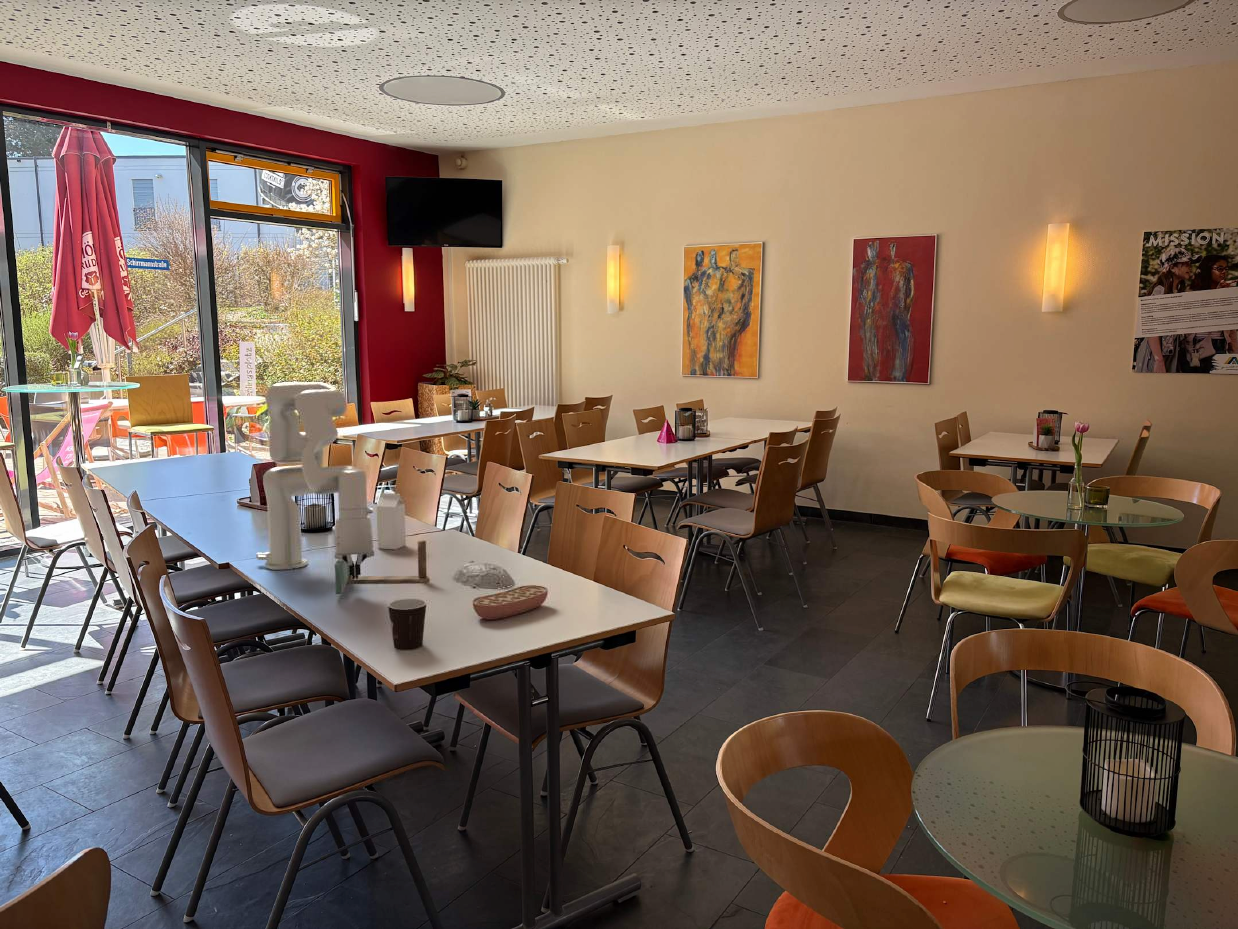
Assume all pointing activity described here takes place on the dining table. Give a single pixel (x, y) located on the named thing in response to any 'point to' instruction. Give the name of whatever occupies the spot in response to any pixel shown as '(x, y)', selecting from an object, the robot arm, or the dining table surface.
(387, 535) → the milk carton
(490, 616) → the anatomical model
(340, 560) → the gate leaf
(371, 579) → the gate frame
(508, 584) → the grey rock
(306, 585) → the dining table surface
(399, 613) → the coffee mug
